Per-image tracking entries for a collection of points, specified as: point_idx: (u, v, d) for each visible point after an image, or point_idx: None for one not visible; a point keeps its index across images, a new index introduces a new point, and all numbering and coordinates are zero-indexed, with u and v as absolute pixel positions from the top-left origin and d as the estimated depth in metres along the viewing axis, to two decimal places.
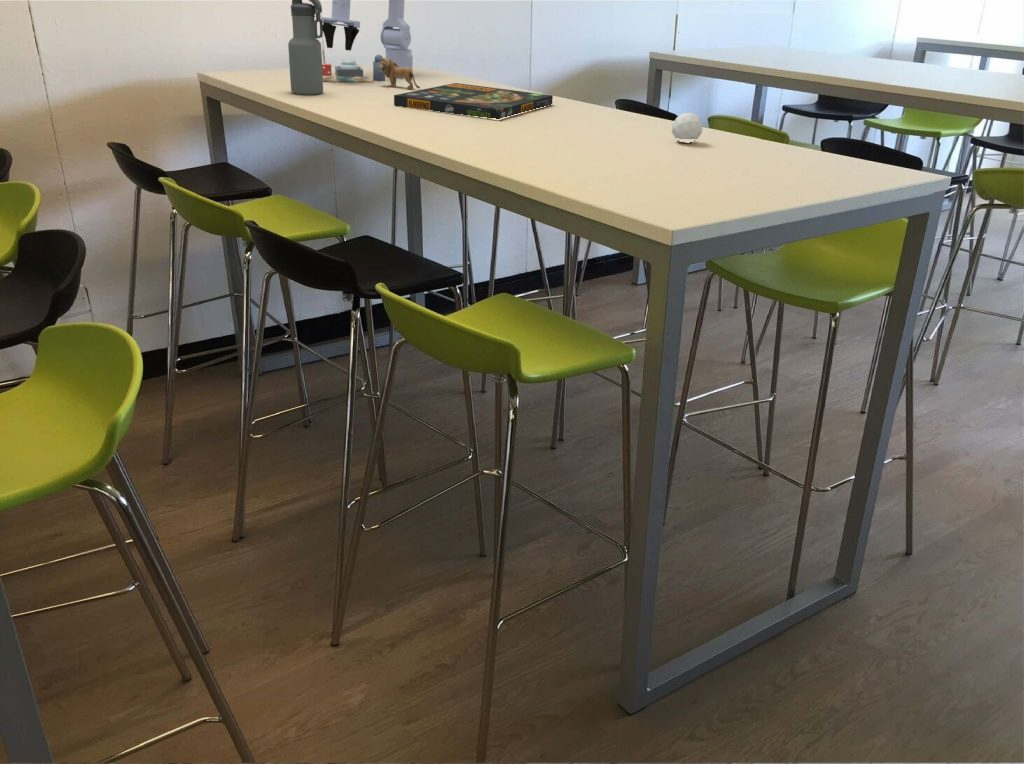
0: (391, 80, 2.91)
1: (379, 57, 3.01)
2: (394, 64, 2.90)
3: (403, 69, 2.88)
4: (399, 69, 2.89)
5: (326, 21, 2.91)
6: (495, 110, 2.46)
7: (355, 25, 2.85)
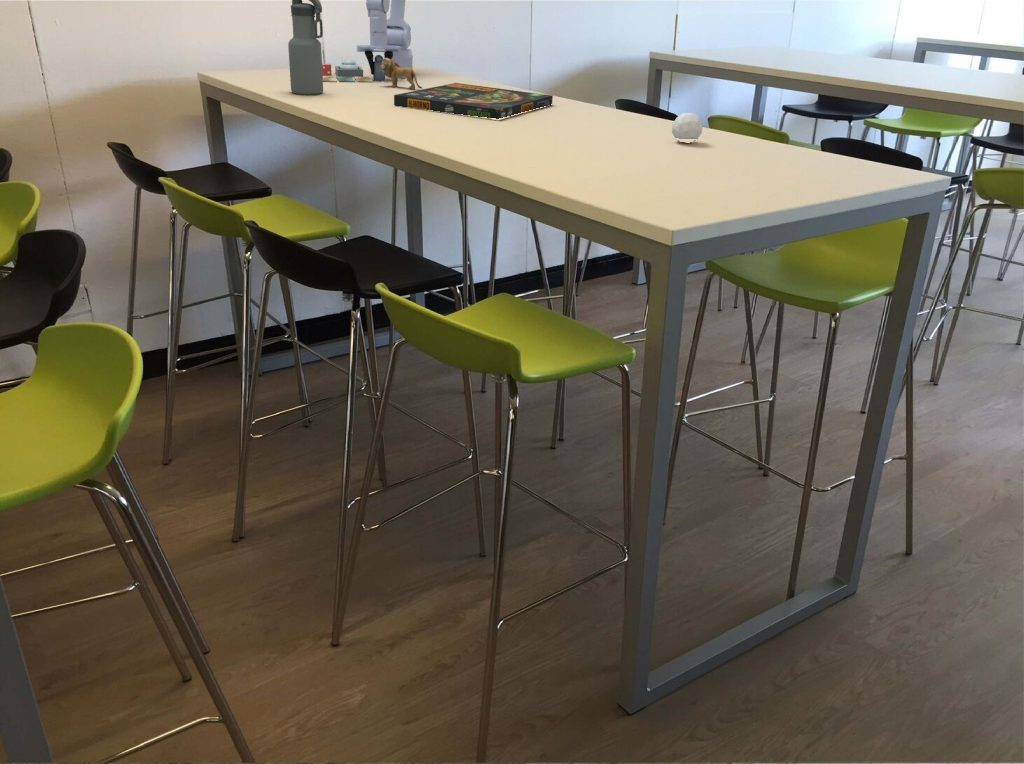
0: (393, 80, 2.91)
1: (379, 57, 3.01)
2: (396, 64, 2.90)
3: (405, 69, 2.88)
4: (401, 69, 2.89)
5: (362, 49, 2.99)
6: (495, 110, 2.46)
7: (399, 51, 3.02)
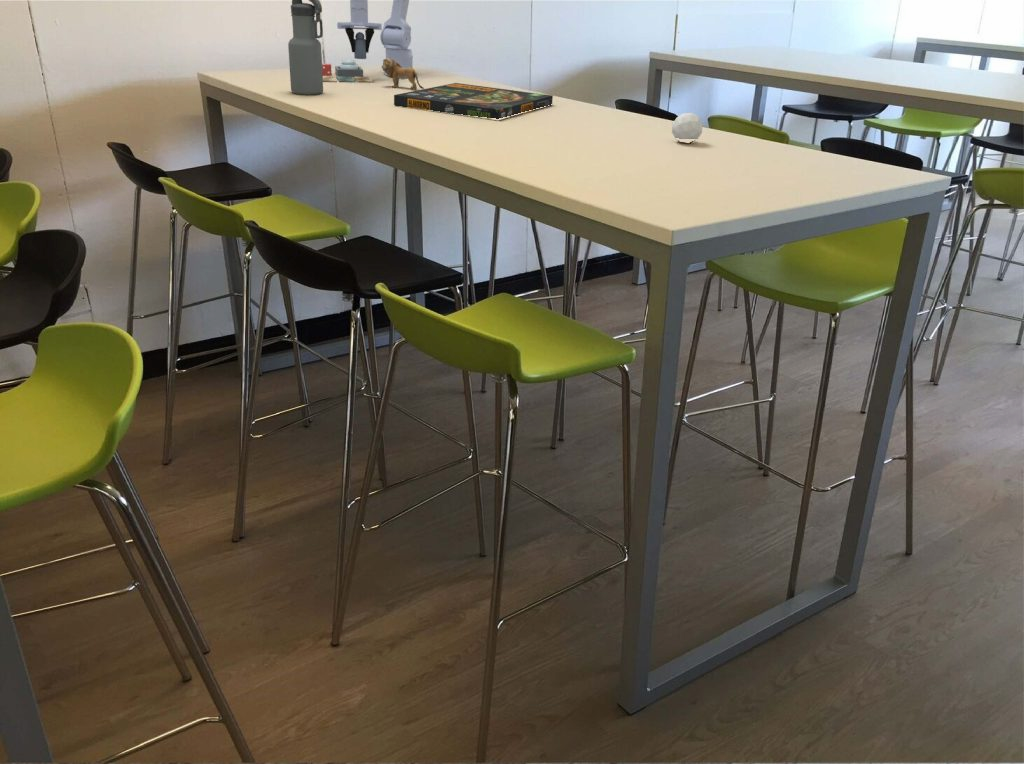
0: (394, 80, 2.91)
1: (360, 34, 2.96)
2: (397, 64, 2.89)
3: (406, 69, 2.88)
4: (402, 69, 2.88)
5: (343, 26, 2.94)
6: (495, 110, 2.46)
7: (380, 28, 2.97)
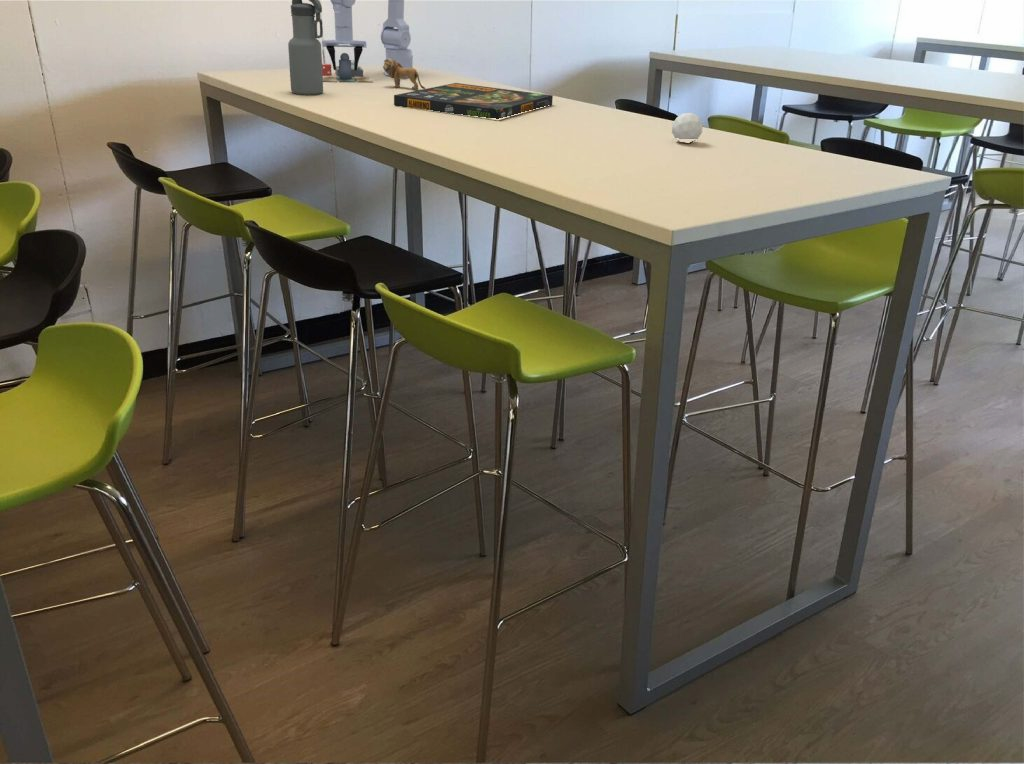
0: (395, 81, 2.90)
1: (345, 55, 2.97)
2: (398, 65, 2.89)
3: (408, 70, 2.87)
4: (404, 70, 2.88)
5: (328, 44, 2.95)
6: (495, 110, 2.46)
7: (365, 45, 2.98)
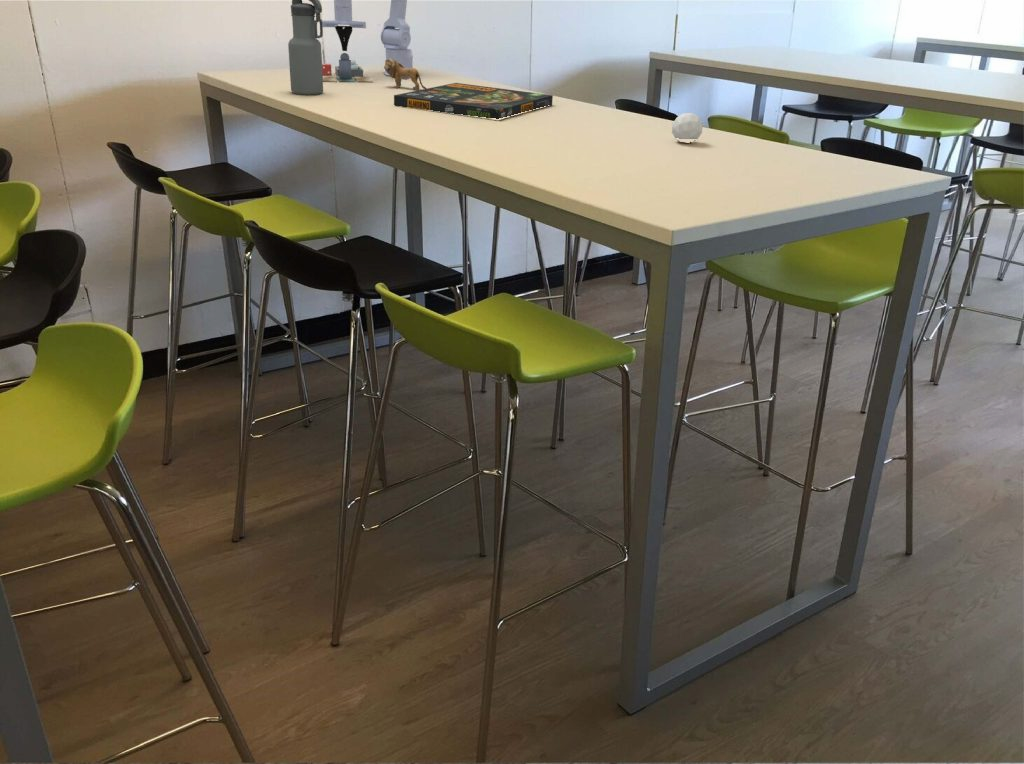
0: (396, 81, 2.90)
1: (345, 55, 2.97)
2: (399, 65, 2.89)
3: (409, 70, 2.87)
4: (405, 70, 2.88)
5: (327, 24, 2.93)
6: (495, 110, 2.46)
7: (364, 26, 2.95)
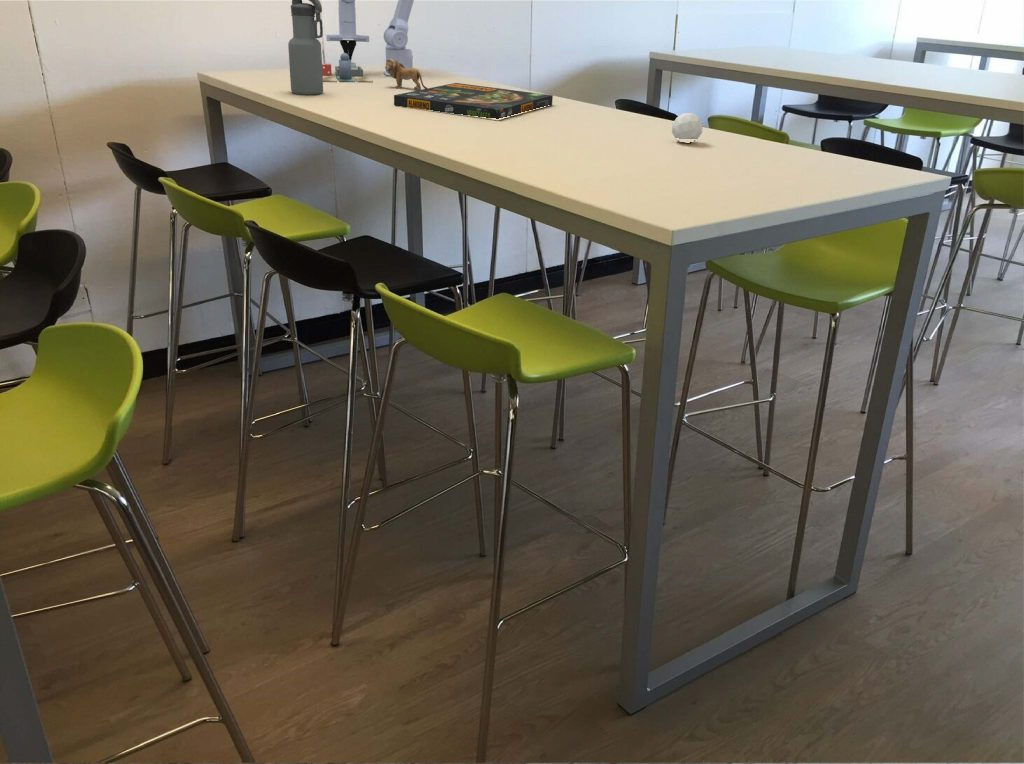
0: (398, 81, 2.90)
1: (345, 55, 2.97)
2: (400, 65, 2.89)
3: (410, 70, 2.87)
4: (406, 70, 2.88)
5: (332, 38, 3.06)
6: (495, 110, 2.46)
7: (368, 40, 3.08)
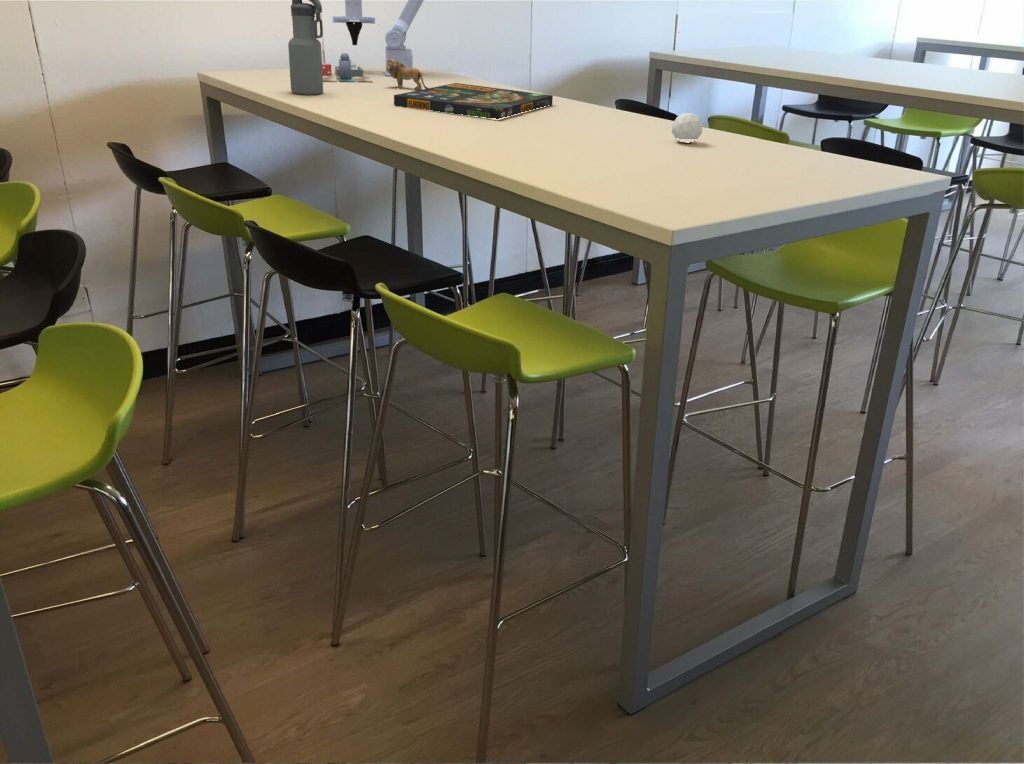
0: (398, 81, 2.90)
1: (345, 55, 2.97)
2: (401, 65, 2.89)
3: (411, 70, 2.87)
4: (407, 70, 2.88)
5: (338, 20, 3.09)
6: (495, 110, 2.46)
7: (374, 22, 3.12)
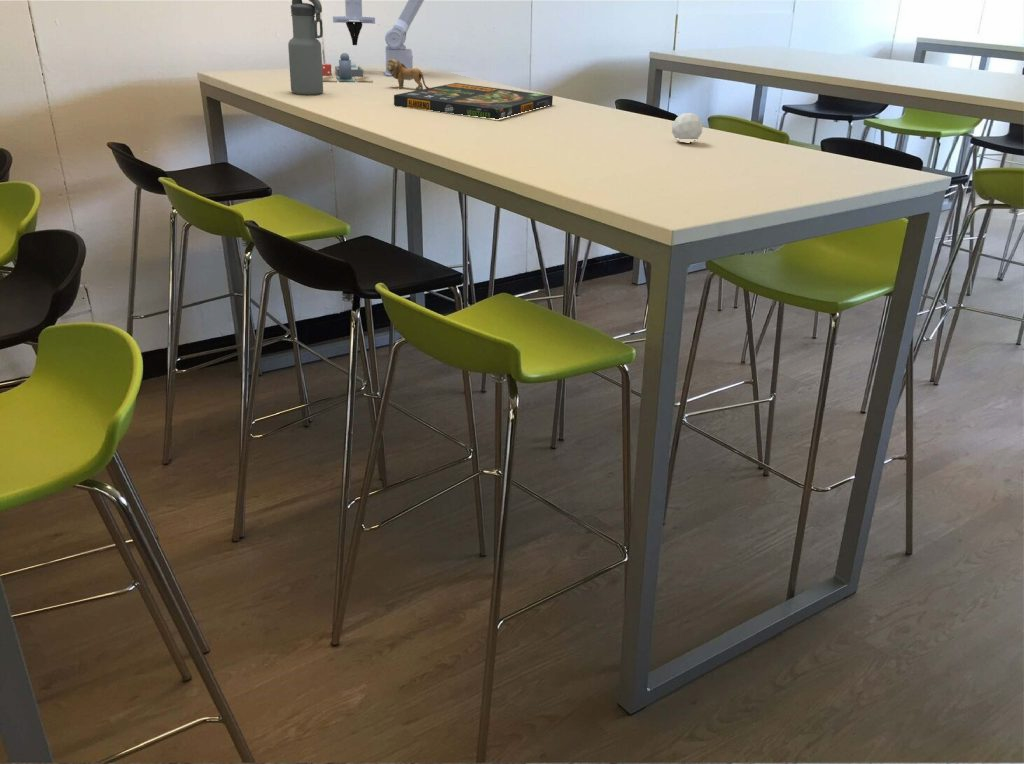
0: (399, 81, 2.89)
1: (345, 55, 2.97)
2: (402, 65, 2.88)
3: (412, 70, 2.87)
4: (408, 70, 2.88)
5: (338, 20, 3.09)
6: (495, 110, 2.46)
7: (374, 22, 3.12)
